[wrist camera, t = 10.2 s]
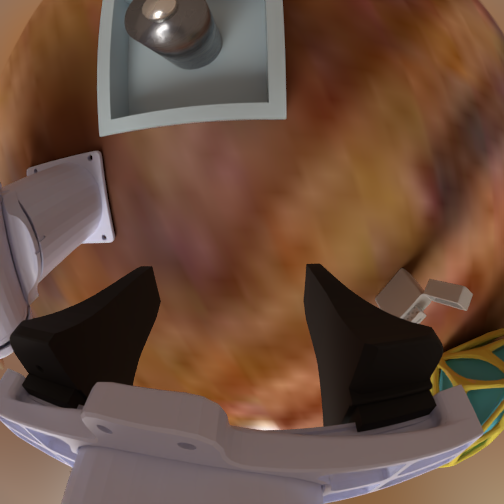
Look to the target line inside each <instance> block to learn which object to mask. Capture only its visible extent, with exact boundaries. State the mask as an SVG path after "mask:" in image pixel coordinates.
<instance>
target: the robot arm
mask: <svg viewBox="0 0 504 504" xmlns="http://www.w3.org/2000/svg"><path fill="white" fill-rule="evenodd" d="M90 156H92V157H93V158H92V160H91V159H90ZM36 169H37V171H36ZM104 235H105V236H106V238H105V237H104ZM114 239H115V233H114V228H113V223H112V218H111V213H110V208H109V202H108V196H107V190H106V184H105V177H104V169H103V161H102V154H101V152H100V151H92V152H87V153H82V154H78V155H74V156H70V157H66V158H62V159H58V160H54V161H51V162H47V163H43V164H40V165H37V166H33V167H30V168H28V169H27V177H25V178H23V179H20V180H18V181H16V182H13V183H11V184H9V185H7V186H4V187H2V186H1V182H0V359H1V358H4V357H6V356H8V355H10V354H11V353H12V352H14V353H15V354H16V356H17V357H18V359H19V360H20V362H21V363H22V365H23V366H24V368H25V369H26V370H27V372H28V373H29V374H28V376H27V377H26V378H25V377H24V376H23V375H21V374H20V373H17V372H15V371H13V370H11V369H7V371H6V372H5V374H4V375H3V377H2V378H1V380H0V420H1V422H2V423H4V424H5V425H6V426H7V427H8V428H9V429H10V430H11V431H12V432H13V433H14V434H15V435H16V436H18V437H19V438H21V439H23V440H24V441H26V442H28V443H29V444H31V445H32V446H34V447H36V448H38V449H39V450H41V451H43V452H45V453H46V454H48V455H50V456H52V457H53V458H55V459H57V460H59V461H61V462H63V463H64V464H66V465H69V466H70V467H72V471H71V474H70V477H69V480H68V483H67V486H66V489H65V492H64V496H63V499H62V503H61V504H325V503H330V502H335V501H340V500H344V499H348V498H352V497H356V496H360V495H364V494H367V493H370V492H374V491H377V490H380V489H384V488H387V487H390V486H392V485H395V484H398V483H401V482H404V481H406V480H409V479H411V478H414V477H416V476H419V475H421V474H424V473H426V472H429V471H431V470H433V469H436V468H438V467H440V466H442V465H445V464H447V463H449V462H451V461H452V460H453V459H455V458H456V457H457V456H458V455H460V454H461V453H462V452H463V451H465V450H466V449H467V448H468V447H469V446H471V445H472V444H473V443H474V442H475V441H476V440H477V439H479V438H480V437H481V436H482V435H483V433H484V431H483V429H482V427H481V424H480V422H479V420H478V418H477V415H476V413H475V411H474V409H473V407H472V405H471V403H470V401H469V399H468V397H467V395H466V393H465V391H464V389H463V387H462V385H457V386H454V387H452V388H449V389H446V390H443V391H440V392H438V393H437V394H435V395H434V396H432V394H431V391H430V389H432V387H433V384H432V382H431V380H430V377H431V375H432V374H433V372H434V370H435V369H436V367H437V365H438V364H439V362H440V359H441V357H442V355H443V346H442V343H441V341H440V340H439V338H438V336H437V335H436V333H435V332H434V330H433V329H432V327H428V326H425V325H421V324H417V323H413V322H410V321H407V320H405V319H402V318H399V317H397V316H394V315H392V314H389V313H387V312H385V311H383V310H381V309H379V308H377V307H375V306H374V305H372V304H370V303H369V302H367V301H365V300H364V299H362V298H361V297H359V296H358V295H356V294H355V293H354V292H352V291H351V290H350V289H348V288H347V287H346V286H345V285H343V284H342V283H341V282H340V281H339V280H337V279H336V278H335V277H334V276H333V275H332V274H331V273H330V272H329V271H327V270H326V269H325V268H324V267H323V266H322V265H321V264H307V265H306V279H305V291H304V307H305V315H306V320H307V324H308V328H309V332H310V335H311V339H312V343H313V346H314V350H315V354H316V358H317V363H318V370H319V378H320V387H321V397H322V409H323V425H324V427H316V428H305V429H291V430H255V429H249V428H242V427H236V426H231V425H229V422H228V417H227V414H226V413H225V412H224V410H223V409H222V408H221V407H220V405H218V404H217V403H215V402H213V401H211V400H209V399H207V398H205V397H203V396H199V395H194V394H189V393H185V392H175V391H166V390H158V389H150V388H143V387H137V386H133V381H134V376H135V372H136V369H137V365H138V361H139V358H140V355H141V352H142V350H143V348H144V345H145V343H146V341H147V338H148V336H149V334H150V331H151V329H152V327H153V324H154V322H155V320H156V317H157V313H158V310H159V306H160V302H161V301H160V297H159V293H158V289H157V285H156V281H155V276H154V272H153V268H152V266H141V267H139V268H137V269H135V270H133V271H132V272H130V273H129V274H127V275H125V276H124V277H122V278H121V279H119V280H118V281H116V282H115V283H113V284H112V285H110V286H109V287H107V288H105V289H104V290H102V291H100V292H99V293H97V294H96V295H94V296H92V297H90V298H88V299H86V300H84V301H82V302H80V303H78V304H76V305H74V306H71V307H69V308H66V309H64V310H62V311H59V312H56V313H53V314H49V315H46V316H42V317H38V318H34V319H33V316H32V311H31V308H30V305H31V303H32V302H33V301H34V300H35V299H36V298H37V297H38V296H39V295H38V291H37V285H38V283H39V282H40V281H41V280H42V279H43V278H44V277H45V276H46V275H47V274H48V273H49V272H50V271H51V270H52V269H54V268H55V267H56V266H57V265H58V264H59V263H60V262H61V261H62V260H63V259H64V258H65V257H66V256H68V255H69V254H70V253H71V252H72V251H73V250H74V249H75V248H77V247H78V246H79V245H80V244H81V243H110V242H112V241H113V240H114Z"/></svg>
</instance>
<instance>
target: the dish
mask: <svg viewBox="0 0 504 504" xmlns="http://www.w3.org/2000/svg"><path fill="white" fill-rule="evenodd" d="M132 1H133V0H103V2H102V10H101V18H100V28H99V41H98V61H97V101H98V122H99V136H100V137H102V136H108V135H113V134H119V133H125V132H131V131H137V130H143V129H149V128H156V127H163V126H171V125H180V124H190V123H201V122H214V121H232V120H284V119H286V66H285V38H284V16H283V0H206V2H207V4H208V7H209V9H210V11H211V13H212V15H213V18H214V20H215V22H216V24H217V27H218V29H219V31H220V34H221V36H222V42H223V43H222V48H221V51H220V53H219V55H218V56H217V57H216V59H215V60H214V61H212V62H211V63H210V64H208V65H206V66H204V67H202V68H199V69H194V70H187V69H182V68H179V67H177V66H175V65H174V64H172V63H171V62H169V61H168V60H166V59H165V58H163V57H162V56H160V55H159V54H157V53H155V52H154V51H152V50H151V49H149V48H147V47H146V46H144V45H143V44H141V43H139V42H138V41H136V40H134V39H133V38H132V37H130V36H129V34H128V33H127V31H126V29H125V24H124V18H125V14H126V11H127V9H128V7H129V5H130V3H131V2H132Z"/></svg>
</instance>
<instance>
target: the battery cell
mask: <svg viewBox="0 0 504 504" xmlns="http://www.w3.org/2000/svg"><path fill="white" fill-rule="evenodd" d="M124 24H125V29H126V31H127V33H128V34H129V36H130V37H132V38H133V39H134V40H136V41H138V42H139V43H141V44H143V45H144V46H146V47H147V48H149V49H151V50H152V51H154V52H155V53H157V54H159V55H160V56H162V57H163V58H165V59H166V60H168V61H169V62H171V63H172V64H174V65H175V66H177V67H179V68H182V69H187V70H194V69H199V68H202V67H204V66H206V65H208V64H210V63H211V62H212V61H214V60H215V59H216V57H217V56H218V55H219V53H220V51H221V48H222V43H223V42H222V36H221V34H220V31H219V29H218V27H217V24H216V22H215V20H214V18H213V15H212V13H211V11H210V9H209V7H208V4H207V2H206V0H133V1H132V2H131V3H130V5H129V7H128V9H127V11H126V14H125V18H124Z"/></svg>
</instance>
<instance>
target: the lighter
mask: <svg viewBox="0 0 504 504" xmlns="http://www.w3.org/2000/svg"><path fill="white" fill-rule="evenodd" d="M472 295H473V294H472V293H471V292H470V291H469V290H468V289H467V288H466V287H464V286H461V285H456V284H451V283H447V282H442V281H437V280H432V279H429V281H428V284H427V286H426V288H425V291H424V290H423V289H422V287H421V286H420V285H419V284H418V282H417V281H416V280H415V279H414V277H413V276H412V275H411V274H410V273H409V272H407V271H406V270H405V269H404V268H401V269H400V270H399V271H398V272H397V273H396V275H395V276H394V277H393V278H392V279H391V281H390V282H389V283H388V284H387V285H386V287H385V288H384V289H383V290H382V291H381V292H380V293H379V295H378V296H377V297H376V298H375V300H376V302H377V304H378V306H379V308H380V309H381V310H383V311H385V312H387V313H389V314H392V315H394V316H397V317H399V318H402V319H405V320H407V321H410V322H413V323H417V324H419V323H420V322H421V321H422V320H423V319H424V318H425V317H426V314H425V313H424V312H423V310H424V309H425V308H426V307H427V306H428V305H429V304H430V303H431V300H432V301H434V302H438V303H441V304H444V305H448V306H451V307H455V308H458V309H461V310H465V311H467V309H468V306H469V304H470V301H471V298H472Z"/></svg>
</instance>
